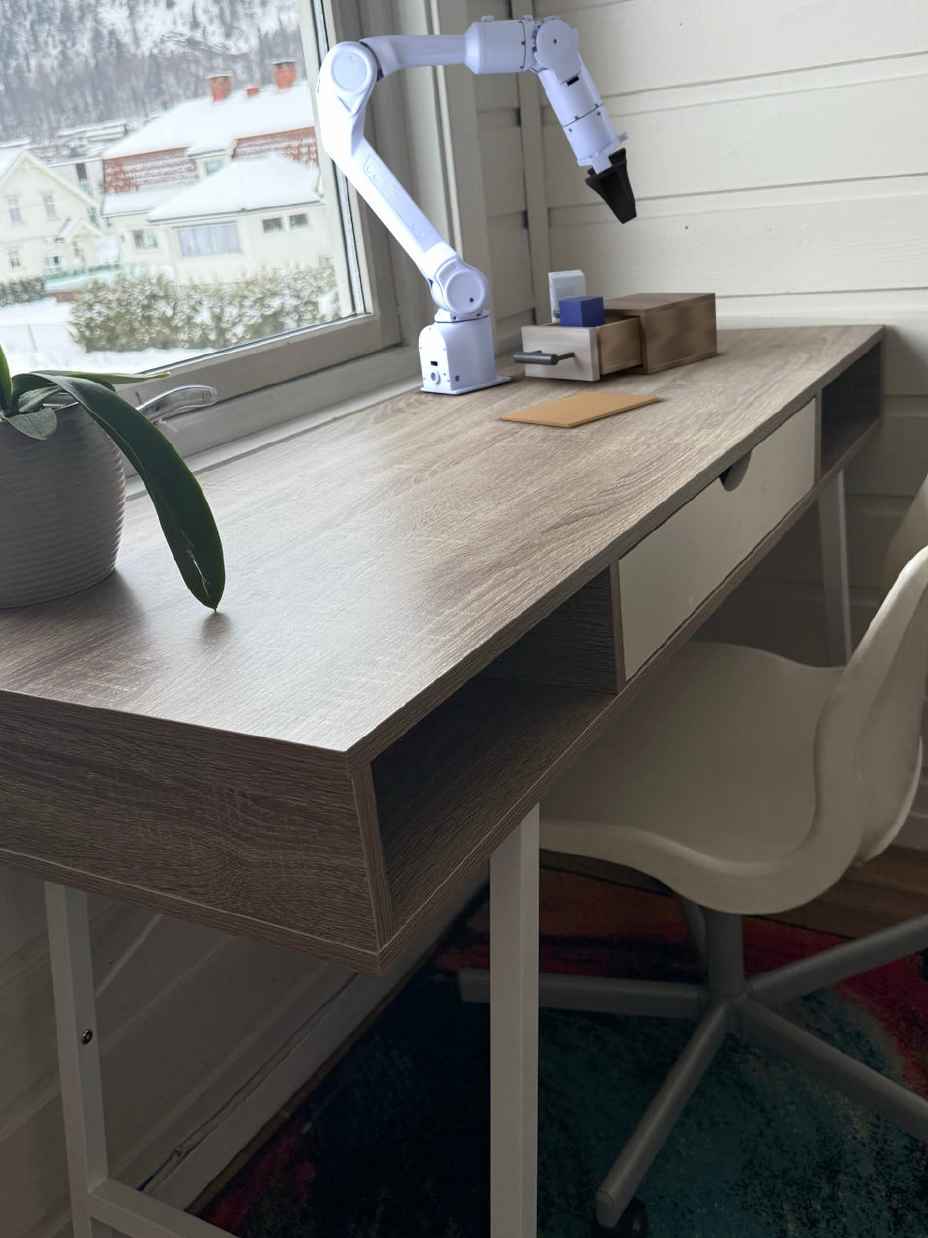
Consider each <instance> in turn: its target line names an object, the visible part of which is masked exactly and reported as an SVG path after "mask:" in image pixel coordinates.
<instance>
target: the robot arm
mask: <svg viewBox="0 0 928 1238" xmlns="http://www.w3.org/2000/svg"><path fill="white" fill-rule="evenodd" d="M480 19H481V20H480V21H473V22H472V23H471V24H470V26H468V28H467V29H466V31H464V33H463V34H388V35H379V36H371V37H365V38H362V39H360V40H359V41H358V42H356V41H351V40H348V41H347V40H346V41H341V42H338V43H337V44H335V45H334V46H332V47H331V48H330V50H329V51H328V52H327V53H326V55H325V58H324V60H323V62H322V63H321V66H320V69H319V73H318V77H317V78H318V79H317V84H316V89H315V97H316V101H317V109H318V115H319V124H320V132H321V140H322V146H323V147H324V149H325V152H326V153H327V154H328V155H329V157H331V159H332V161H334V163H335V164H336V165H337V167H338V168H339V169H340V170H341V172H342V173H343V174H344V175H345V177H346V178H347V179H348V180H349V182H350V183H351V184H352V185H353V187H354V188H355V189H356V190H357V192H358V193H359V195H360V196H362V198H363V199H364V201H365V202H366V203H367V204H368V205H369V206H370V208H371V209H372V210H373V212H374V213H375V214H376V215H377V217H378V218H379V219H380V220H381V222H382V223H383V224H384V226H385V227H386V228H387V229H388V230H389V232H390V233H391V234H392V236H393V237H394V238H395V239H396V240H397V242H398V243H399V245H401V247H402V248H403V249H404V251H405V252H406V253H407V254H408V256H409V257H410V258H411V259H412V261H413V262H414V264H415V265H416V266H417V268H418V270H419V272H420V274H421V275H423V278H425V280H426V281H427V283H428V286H429V288H430V289H429V290H430V293H431V297H432V299H433V301H434V303H435V304H436V305H437V306H438V307H439V308H438V311H437V313H436V314H435V315H434V321H435V322H434V323H433V324H430V325H427V326H426V327H424V328H423V329H422V330H421V331H420V334H419V337H418V351H419V358H420V368H421V374H422V381H423V382H422V383H423V386H421V387H420V391H421V392H429V393H437V394H438V393H440V394H448V395H461V394H464V393H469V392H472V391H476V390H480V389H484V388H487V387H491V386H496V385H499V384H503V383H506V382H511V381H512V379H511V377H510V376H501V375H500V376H499V375H497V371H496V361H495V351H494V341H493V333H492V323H491V315H490V313H491V312H490V309H486V308H485V307H486V306H487V304H488V301H489V298H490V284H489V282H488V279H487V277H486V275H484V273H483V272H482V271H480V270H479V269H478V268H476V267H474V266H471V265H469V264H467V262H465V261H464V260H463V259H462V257H461V256H460V255H459V254H458V252H457V251H456V250H455V249H454V248H452V246H451V245H450V244H449V243H448V242H447V240H445V239H444V238H443V236H442V235H441V234H440V232H439V231H438V230H437V229H436V227H435V226H434V225H433V223H432V222H431V221H430V220H429V218H428V216H427V215H426V214H425V213H424V212H423V210H422V209H421V208H420V207H419V206H418V204H417V203H416V201H415V200H414V199H413V198H412V197H411V195H410V194H409V192H407V190H406V189H405V187H404V186H403V185H402V184H401V182H400V181H399V180H398V178H397V177H396V176H395V175H394V173H393V171H391V169H390V168H389V166H388V165H386V163H385V162H384V161H383V160H382V158H381V157H380V155H379V154H378V153H377V152H376V150H375V149H374V147H373V146H372V145H371V143H370V142H369V141H368V140H367V139H366V138H365V137H366V136H365V134H364V132H365V121H366V115H367V114H366V113H367V109H366V107H367V105H368V102H369V100H370V98H371V95H372V93H373V90H374V87H375V85H376V83H377V84H379V83H381V82H382V81H384V80H385V79H387V78H388V77H390V76H392V75H393V74H395V73H396V72H398V71H399V70H403V69H413V68H425V67H437V66H447V65H459V64H463V65H465V66H466V67H467V68H469V70H470V71H471V72H472V73H473V74H475V75H489V74H508V73H524V72H527V71H528V70H530V71H531V72H532V73H535V74H537V76H538V79H539V80H540V82H541V84H542V87H543V88H544V90H545V91H544V92H545V94H546V97H547V99H548V101H549V102H550V104H551V107H552V110H553V111H554V113H555V115H556V117H557V119H558V121H559V124H560V126H561V127H562V130H563V132H564V134H565V136H566V138H567V141H568V142H569V144H570V147H571V149H572V151H573V154H574V155H575V157H576V163H577V165H578V166H579V167H586V166H592V167H590V168H588V169H587V171H586V173H587V174H588V175H589V176H587V177H585V178H584V182H585V184H586V186H588V188H590V189H592V190H593V191H594V192H595V193H596V194H597V195H599V197H600V198H601V199H602V200H603V201H604V203H605V204H606V205H607V206H608V208H609V209H610V210H611V212H612V214H613V215H614V216H615V217H616V219H617V220H618V221H619V223H621V224H622V225H625V224H626V223H628V222H630V221H633V220H634V219H636V218H637V217H638V213H637V208H636V207H637V205H636V199H635V195H634V191H633V187H632V184H631V180H630V177H629V172H628V158H627V149H626V147H621V148H620V149H618V150H616V149H617V148H618V147H619V146H621V144H622V143H623V142H624V141H626V140H628V139H629V137H630V136H629V133H628V132H627V131H624V132H623V133H621V134H619V135H618V133H617V131H616V128H615V127H614V124H613V122H612V120H611V118H610V116H609V114H608V112H607V109H606V106H605V105H604V102H603V100H602V98H601V95H600V94H599V92H598V89H597V87H596V85H595V83H594V81H593V79H592V76H591V73H590V72H589V70H588V68H587V67H586V64H585V63H584V61H583V59H582V56H581V54H580V52H579V47H580V35H579V31H578V28H576V27H573V26H572V24H571V23H570V21H568V20H567V19H564V18H563V17H562V16H558V15H550V16H546V17H543V18H542V19H541V20H537V21H534V20H533V15H532V14H527V15H525V14H524V15H523V16H522V18H521V19H509V20H495V16H494V15H492V14H491V15H483V16H482V17H481V18H480ZM615 150H616V151H615Z"/></svg>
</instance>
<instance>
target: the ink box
mask: <svg viewBox="0 0 928 1238" xmlns="http://www.w3.org/2000/svg"><path fill="white" fill-rule="evenodd" d="M547 275H548V285H549V286H548V287H549V299H550V312H551V323H552V322H557V321H560V312H559V301H562V300H567V299H571V298H576V297H581V296H587V284H586V275H585V273H583V272H582V270H581V269H572V270H562V271H551V272H548V273H547Z"/></svg>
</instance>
